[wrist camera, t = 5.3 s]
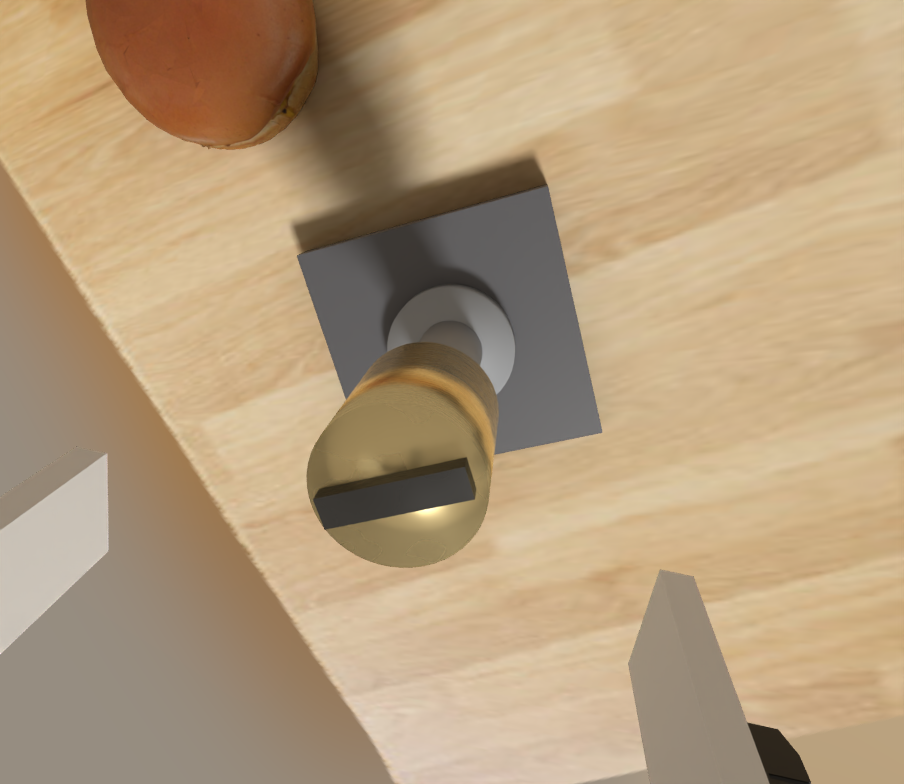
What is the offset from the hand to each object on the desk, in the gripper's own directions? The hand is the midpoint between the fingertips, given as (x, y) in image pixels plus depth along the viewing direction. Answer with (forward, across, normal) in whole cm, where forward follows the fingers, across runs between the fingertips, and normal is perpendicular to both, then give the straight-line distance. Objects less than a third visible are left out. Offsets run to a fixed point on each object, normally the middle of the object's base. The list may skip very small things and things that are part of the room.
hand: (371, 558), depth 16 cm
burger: (+20, -13, +12) cm, 26 cm away
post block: (+19, 0, 0) cm, 19 cm away
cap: (+9, 0, 0) cm, 9 cm away
